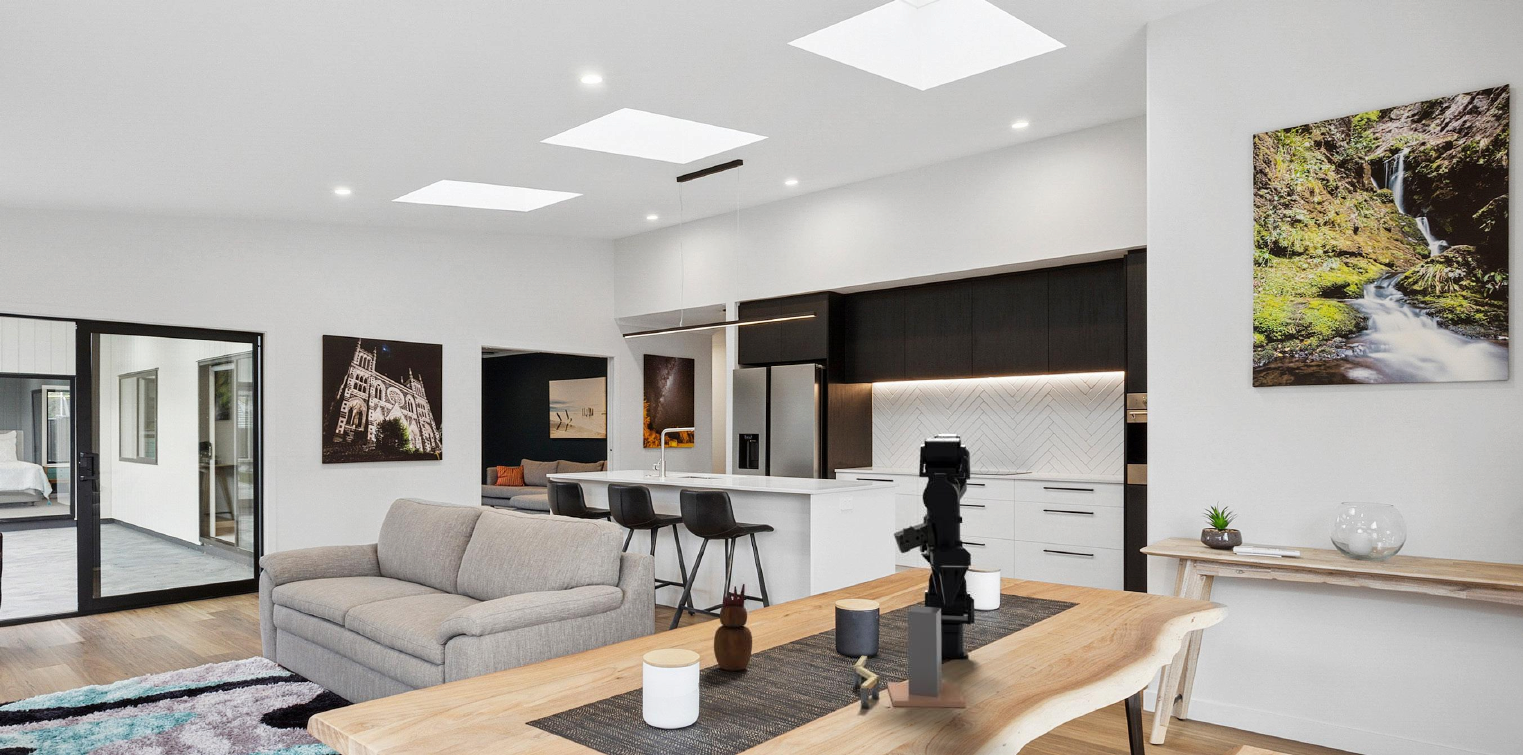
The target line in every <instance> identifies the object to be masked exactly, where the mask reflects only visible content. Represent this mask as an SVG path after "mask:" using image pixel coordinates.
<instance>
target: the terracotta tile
mask: <svg viewBox="0 0 1523 755" xmlns="http://www.w3.org/2000/svg"><path fill="white" fill-rule="evenodd" d="M887 689H888V692H889V697H890V700H891V702H892V706H893V707H924V708H925V707H927V708H928V707H929V708H932V707H933V708H934V707H935V708H937V707H938V708H966V701H965V698H964V697H963V695H962V694H961V692H960V690H959V689H958V686H957V685H956V684H955V683H954V682H953V683H952V682H951V683H949V682H948V683H947V682H942V690H941V691H940V693H939V695H938V697H929V696H920V695H910V694H909V687H908V682H895V681H894V682H893V681H892V682H891V681H889V682H887Z"/></svg>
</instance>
